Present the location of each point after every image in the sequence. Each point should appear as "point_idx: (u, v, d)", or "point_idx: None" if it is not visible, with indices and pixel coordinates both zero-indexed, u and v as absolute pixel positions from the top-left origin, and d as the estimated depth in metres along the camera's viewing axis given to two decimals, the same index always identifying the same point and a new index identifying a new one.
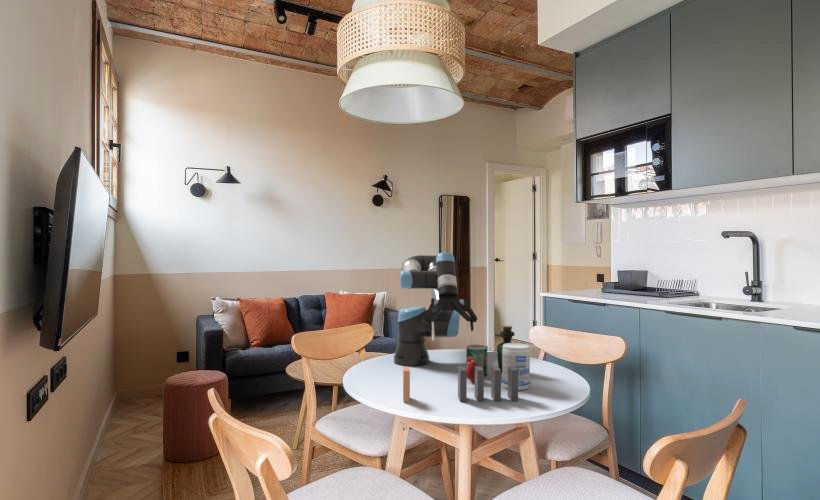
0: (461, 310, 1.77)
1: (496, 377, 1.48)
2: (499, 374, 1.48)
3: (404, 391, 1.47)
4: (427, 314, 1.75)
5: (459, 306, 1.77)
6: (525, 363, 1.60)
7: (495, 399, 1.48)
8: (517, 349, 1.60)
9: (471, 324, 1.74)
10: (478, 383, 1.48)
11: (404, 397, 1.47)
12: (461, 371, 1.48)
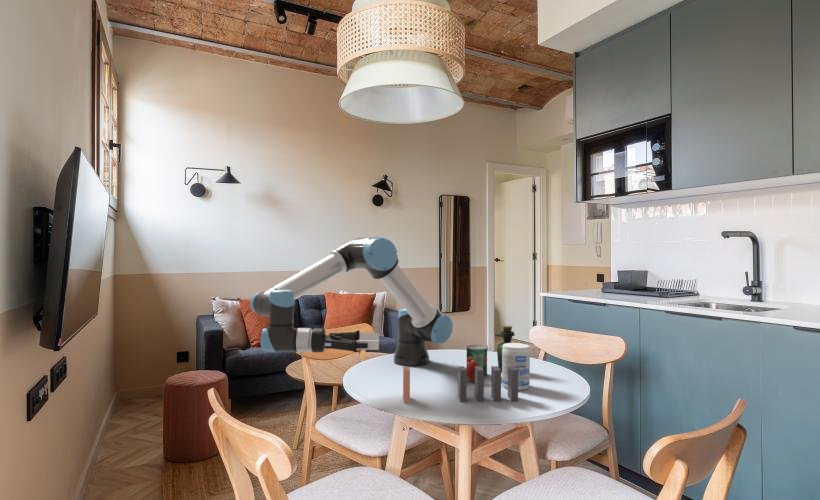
0: None
1: (496, 377, 1.48)
2: (499, 374, 1.48)
3: (404, 391, 1.47)
4: None
5: None
6: (525, 363, 1.60)
7: (495, 399, 1.48)
8: (517, 349, 1.60)
9: None
10: (478, 383, 1.48)
11: (404, 397, 1.47)
12: (461, 371, 1.48)
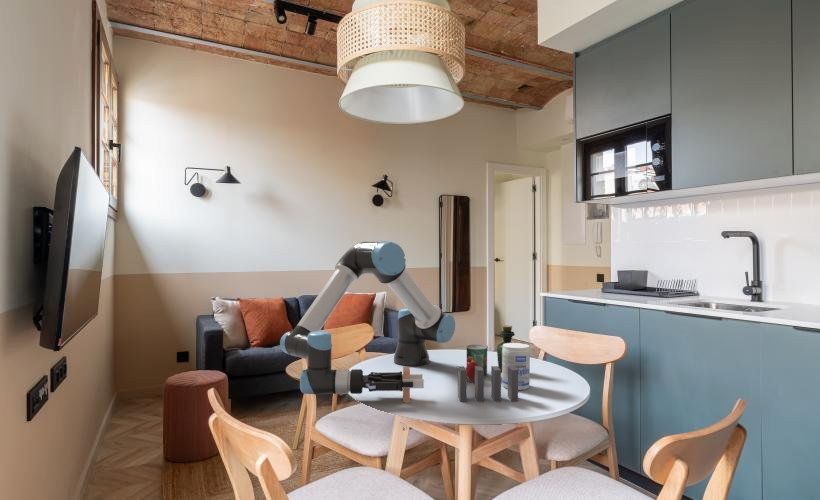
0: None
1: (496, 377, 1.48)
2: (499, 374, 1.48)
3: (404, 391, 1.47)
4: None
5: None
6: (525, 363, 1.60)
7: (495, 399, 1.48)
8: (517, 349, 1.60)
9: None
10: (478, 383, 1.48)
11: (404, 397, 1.47)
12: (461, 371, 1.48)
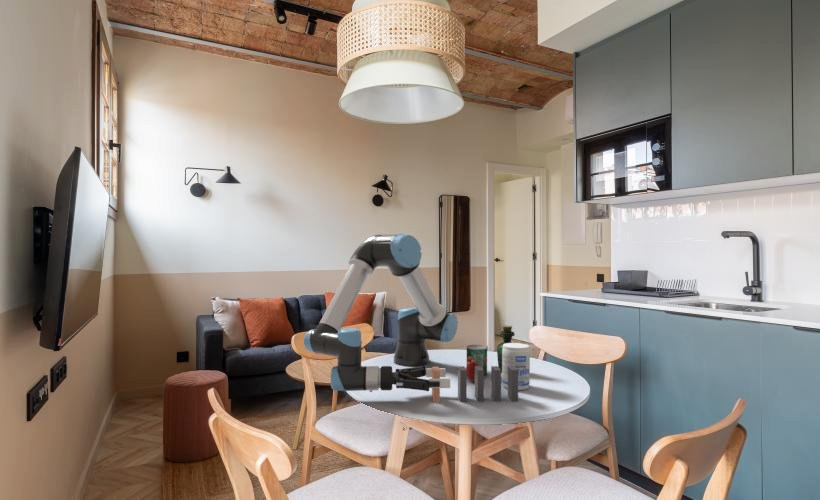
0: None
1: (496, 377, 1.48)
2: (499, 374, 1.48)
3: (434, 391, 1.47)
4: None
5: None
6: (525, 363, 1.60)
7: (495, 399, 1.48)
8: (517, 349, 1.60)
9: None
10: (478, 383, 1.48)
11: (434, 397, 1.47)
12: (461, 371, 1.48)
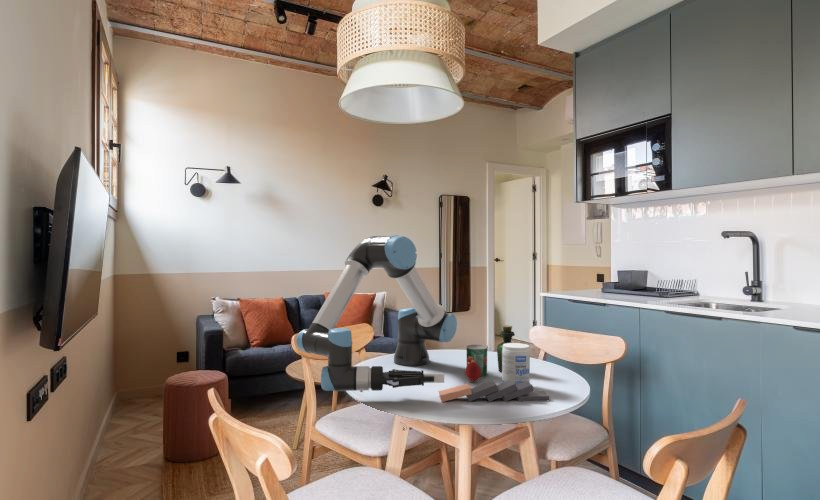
0: None
1: (526, 389, 1.49)
2: (529, 390, 1.49)
3: (450, 394, 1.48)
4: None
5: None
6: (525, 363, 1.60)
7: (505, 395, 1.48)
8: (517, 349, 1.60)
9: None
10: (503, 389, 1.48)
11: (445, 395, 1.47)
12: (495, 386, 1.48)
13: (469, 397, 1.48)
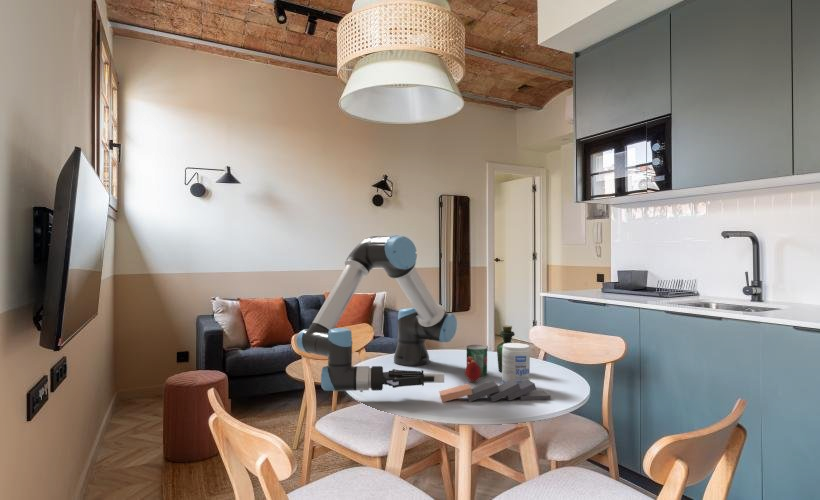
0: None
1: (528, 387, 1.50)
2: (532, 389, 1.51)
3: (451, 394, 1.48)
4: None
5: None
6: (525, 363, 1.60)
7: (509, 394, 1.49)
8: (517, 349, 1.60)
9: None
10: (507, 389, 1.48)
11: (445, 395, 1.47)
12: (496, 386, 1.48)
13: (470, 397, 1.48)
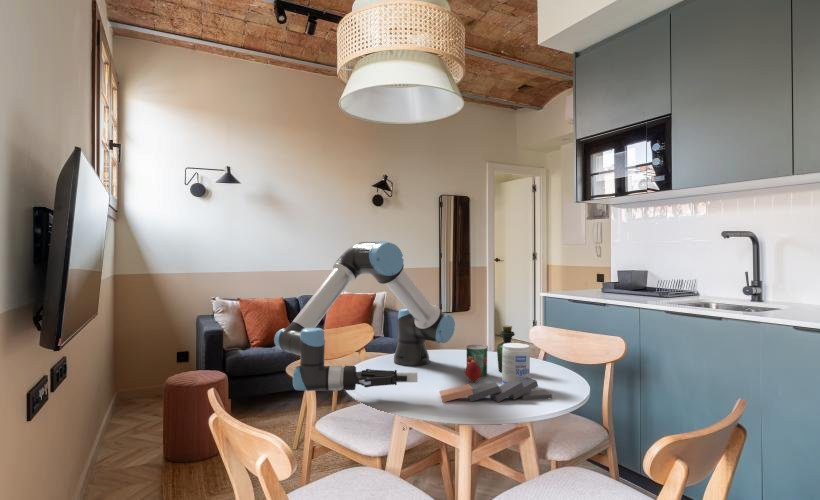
0: None
1: (531, 385, 1.52)
2: (534, 386, 1.52)
3: (452, 394, 1.48)
4: None
5: None
6: (525, 363, 1.60)
7: (514, 393, 1.49)
8: (517, 349, 1.60)
9: None
10: (511, 389, 1.49)
11: (446, 395, 1.47)
12: (497, 387, 1.48)
13: (471, 397, 1.48)
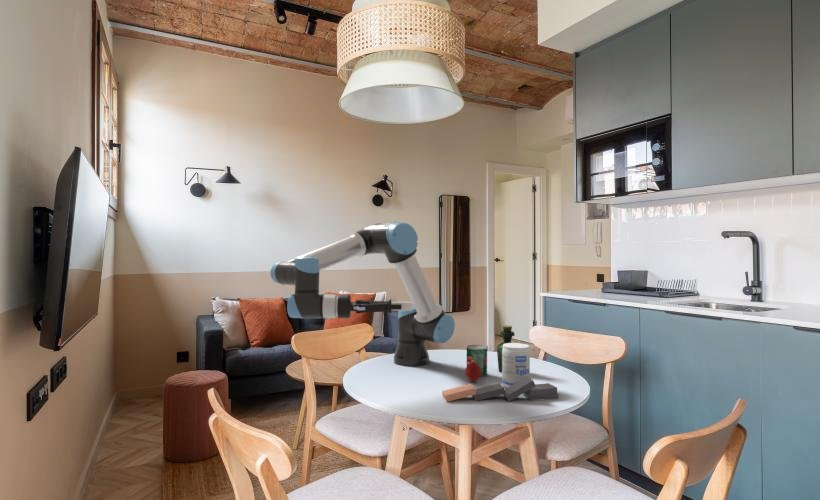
0: None
1: (551, 389, 1.51)
2: (553, 392, 1.52)
3: (456, 393, 1.48)
4: None
5: None
6: (525, 363, 1.60)
7: (531, 390, 1.49)
8: (517, 349, 1.60)
9: (394, 308, 1.48)
10: (522, 387, 1.49)
11: (450, 395, 1.48)
12: (503, 389, 1.50)
13: (476, 396, 1.49)
